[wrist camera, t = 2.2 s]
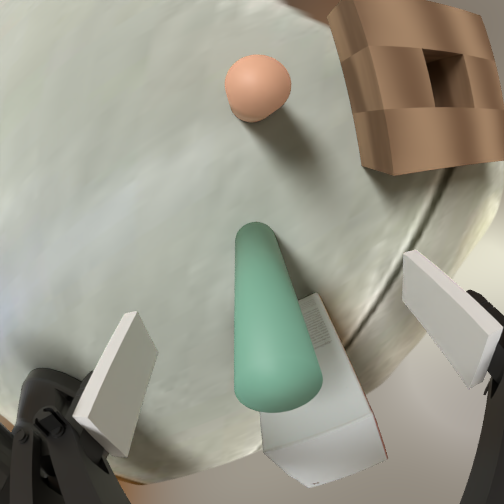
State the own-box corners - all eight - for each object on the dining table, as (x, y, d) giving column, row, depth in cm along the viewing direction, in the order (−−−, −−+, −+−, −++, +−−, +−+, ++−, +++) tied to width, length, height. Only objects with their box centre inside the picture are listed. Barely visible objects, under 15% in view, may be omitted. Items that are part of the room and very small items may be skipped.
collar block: (361, 165, 20) (393, 175, 15) (326, 16, 16) (349, -10, 11) (471, 151, 20) (509, 160, 15) (446, 27, 15) (480, 15, 10)
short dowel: (235, 126, 19) (233, 121, 12) (225, 86, 18) (218, 62, 11) (277, 117, 19) (297, 108, 12) (268, 77, 18) (282, 50, 11)
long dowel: (240, 263, 23) (246, 418, 10) (231, 227, 22) (223, 366, 9) (279, 254, 23) (325, 402, 10) (271, 217, 21) (319, 346, 8)
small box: (344, 350, 27) (389, 460, 15) (285, 375, 28) (306, 490, 16) (318, 288, 24) (375, 414, 12) (249, 319, 25) (259, 455, 13)
